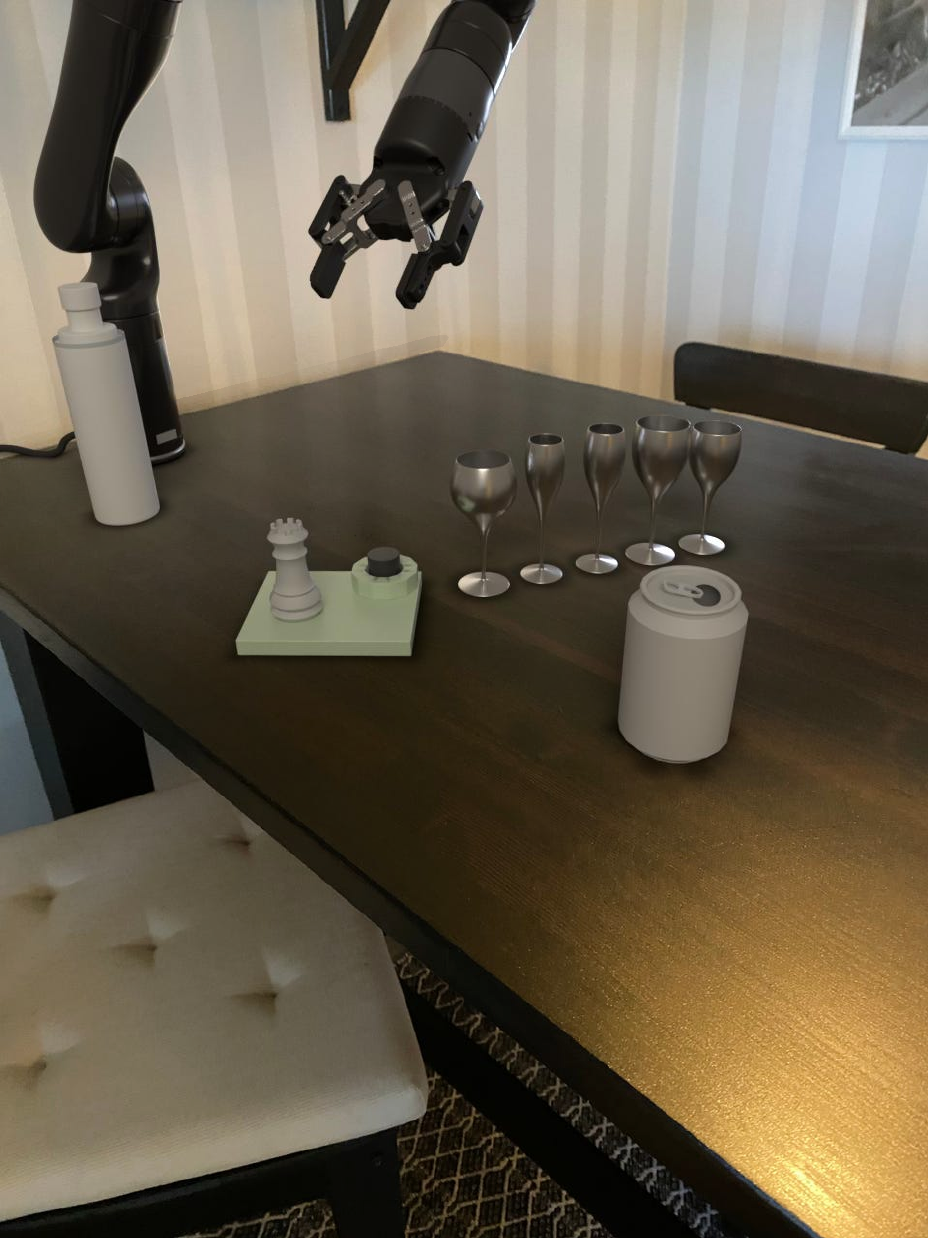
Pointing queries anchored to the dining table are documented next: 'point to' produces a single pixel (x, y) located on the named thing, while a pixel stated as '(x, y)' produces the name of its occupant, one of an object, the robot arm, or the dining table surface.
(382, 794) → the dining table surface
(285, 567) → the rook chess piece
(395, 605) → the scale
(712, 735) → the can
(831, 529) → the dining table surface
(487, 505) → the goblet set
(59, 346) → the grey bottle
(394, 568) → the button
